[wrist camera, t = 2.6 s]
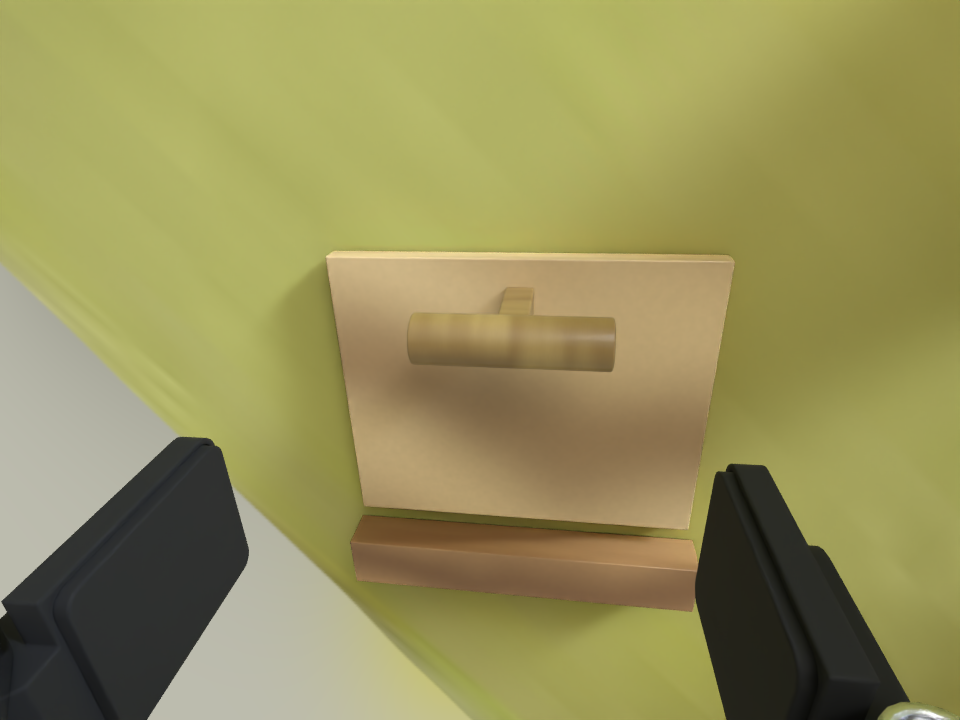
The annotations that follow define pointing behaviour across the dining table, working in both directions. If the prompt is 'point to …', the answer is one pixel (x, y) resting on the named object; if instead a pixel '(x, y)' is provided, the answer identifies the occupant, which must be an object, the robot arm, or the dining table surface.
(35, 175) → the dining table surface
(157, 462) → the robot arm
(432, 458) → the photo frame
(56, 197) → the dining table surface
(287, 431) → the dining table surface
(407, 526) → the frame foot
